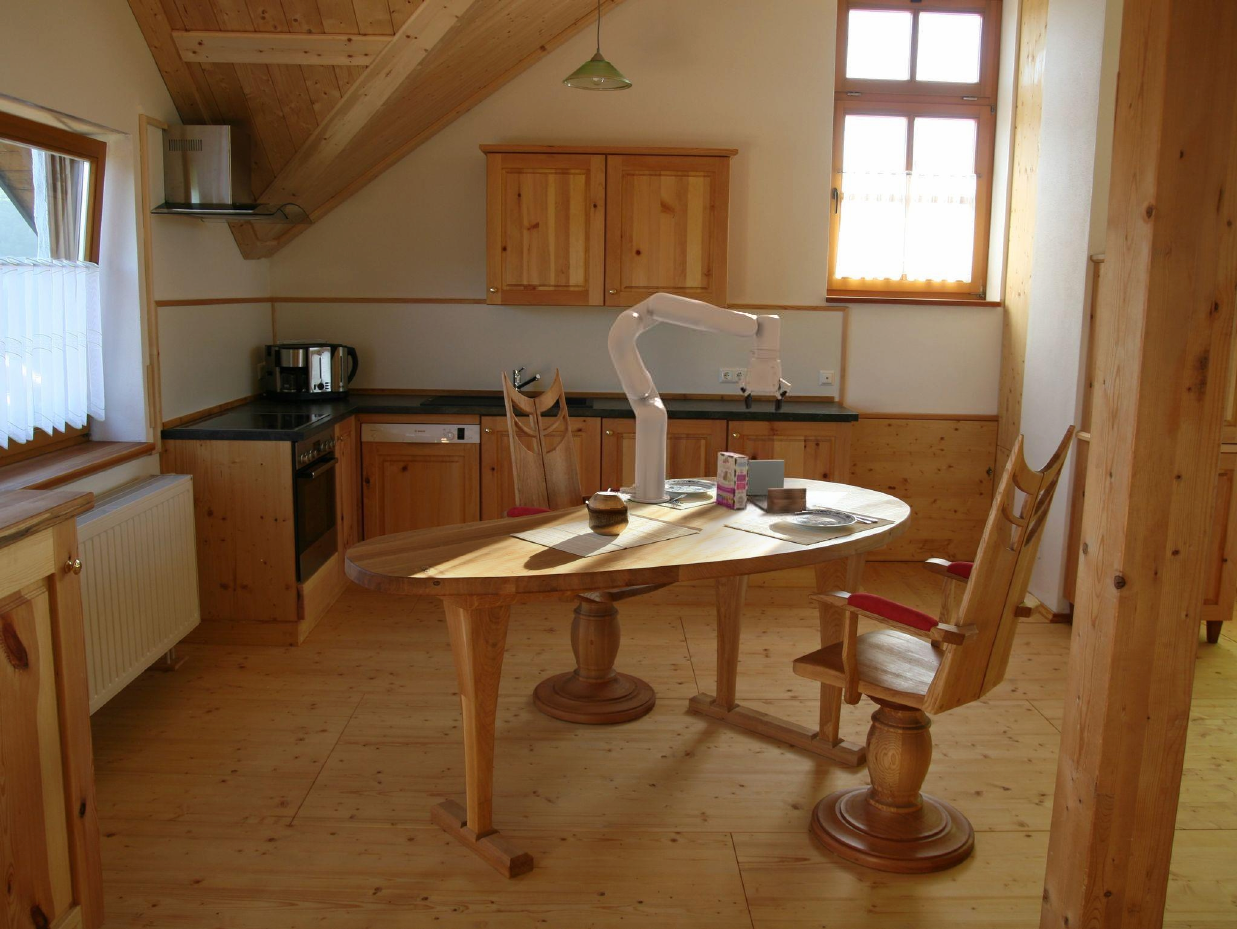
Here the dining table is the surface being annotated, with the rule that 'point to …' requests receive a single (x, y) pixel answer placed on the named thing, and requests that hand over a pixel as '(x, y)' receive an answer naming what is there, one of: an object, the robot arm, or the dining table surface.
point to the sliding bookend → (765, 476)
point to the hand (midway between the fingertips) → (763, 410)
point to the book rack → (782, 500)
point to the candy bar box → (732, 480)
